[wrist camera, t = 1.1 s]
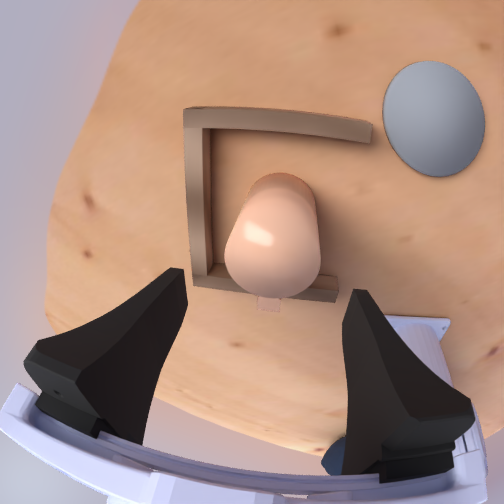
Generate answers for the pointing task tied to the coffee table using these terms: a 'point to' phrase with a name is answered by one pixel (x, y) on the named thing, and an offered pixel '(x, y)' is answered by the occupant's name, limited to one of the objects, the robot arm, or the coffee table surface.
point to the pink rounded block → (275, 240)
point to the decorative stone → (334, 458)
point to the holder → (199, 179)
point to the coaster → (433, 118)
